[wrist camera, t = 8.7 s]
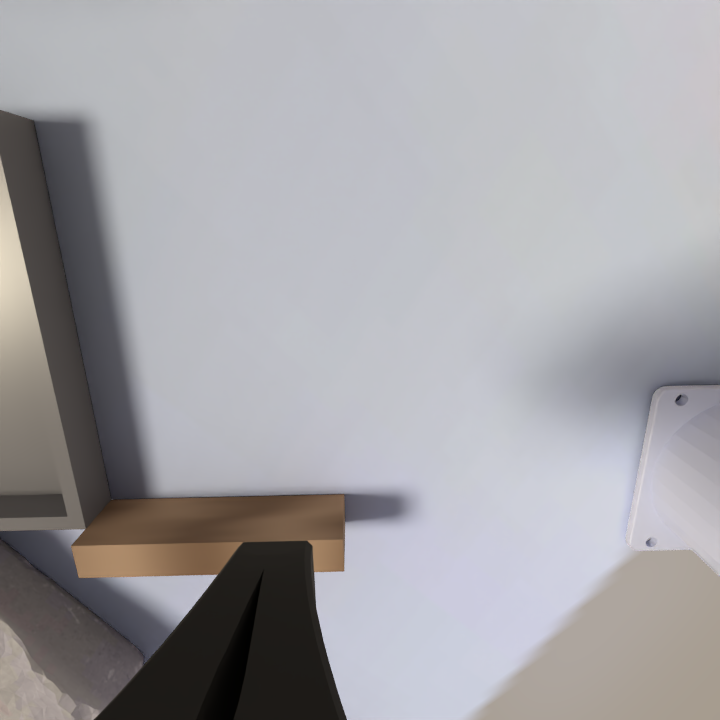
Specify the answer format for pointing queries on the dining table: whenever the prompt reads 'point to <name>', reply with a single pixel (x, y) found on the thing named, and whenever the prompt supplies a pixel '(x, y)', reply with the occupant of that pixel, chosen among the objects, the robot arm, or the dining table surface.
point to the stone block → (55, 649)
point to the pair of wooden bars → (205, 533)
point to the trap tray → (40, 359)
